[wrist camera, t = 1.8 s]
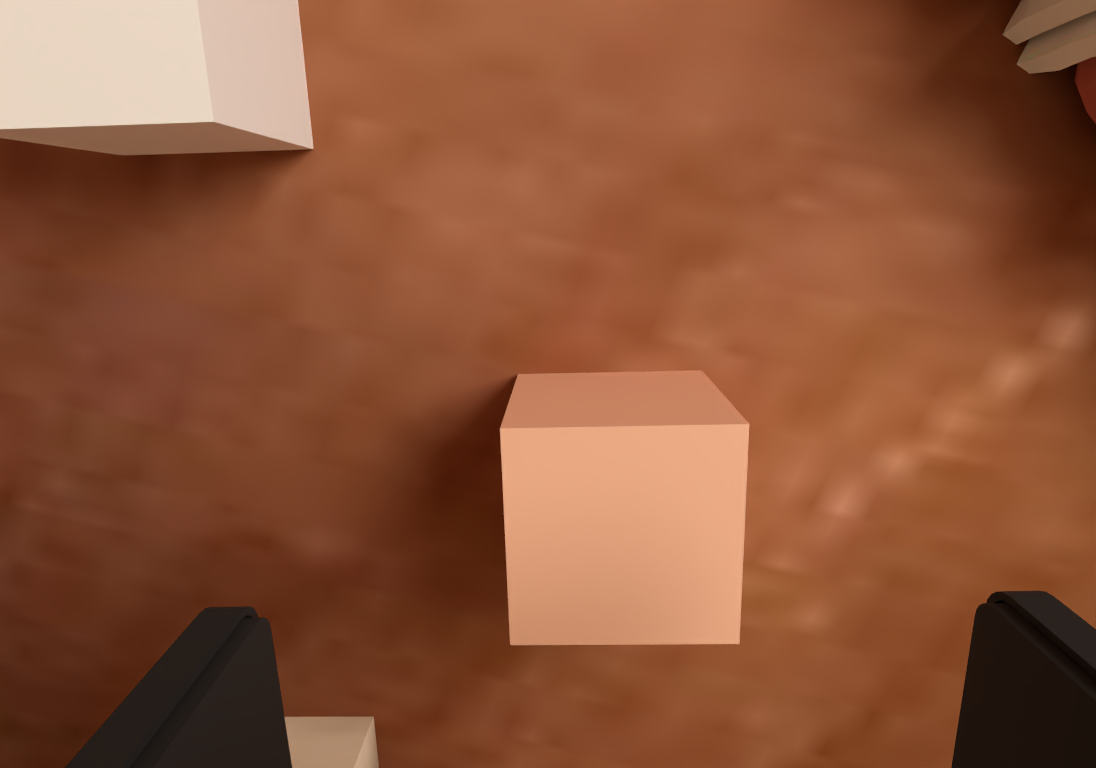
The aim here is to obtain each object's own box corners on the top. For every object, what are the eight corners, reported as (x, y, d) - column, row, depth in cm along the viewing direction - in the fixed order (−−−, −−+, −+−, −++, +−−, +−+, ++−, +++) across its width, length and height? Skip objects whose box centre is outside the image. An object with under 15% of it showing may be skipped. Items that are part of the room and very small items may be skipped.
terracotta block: (696, 537, 19) (739, 643, 15) (524, 539, 20) (510, 645, 15) (701, 369, 18) (749, 424, 13) (518, 373, 18) (500, 428, 14)
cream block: (314, 149, 17) (213, 122, 12) (124, 156, 17) (-50, 130, 12) (291, -72, 16) (169, -199, 11) (87, -63, 16) (-121, -184, 11)
